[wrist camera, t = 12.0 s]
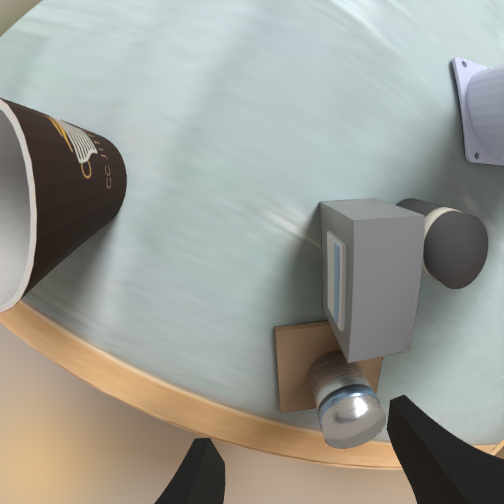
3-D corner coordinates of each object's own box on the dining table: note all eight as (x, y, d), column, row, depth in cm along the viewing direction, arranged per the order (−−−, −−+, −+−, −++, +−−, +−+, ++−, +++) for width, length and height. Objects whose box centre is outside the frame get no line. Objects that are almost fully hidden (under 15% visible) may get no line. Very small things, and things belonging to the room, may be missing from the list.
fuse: (365, 350, 19) (396, 405, 14) (349, 390, 20) (371, 446, 15) (315, 348, 19) (336, 409, 13) (302, 389, 20) (315, 450, 14)
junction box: (373, 198, 17) (424, 215, 11) (371, 301, 19) (409, 350, 13) (315, 201, 17) (347, 220, 11) (318, 308, 19) (342, 363, 13)
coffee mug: (158, 230, 17) (70, 300, 8) (56, 257, 18) (-39, 319, 8) (123, 58, 14) (30, -6, 5) (26, 109, 15) (-75, 100, 5)
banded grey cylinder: (433, 197, 17) (491, 213, 11) (430, 252, 18) (483, 284, 12) (384, 198, 17) (438, 215, 11) (384, 258, 18) (431, 295, 12)
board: (385, 311, 19) (389, 315, 19) (372, 392, 21) (375, 396, 21) (274, 326, 19) (275, 331, 19) (279, 407, 22) (280, 412, 21)
